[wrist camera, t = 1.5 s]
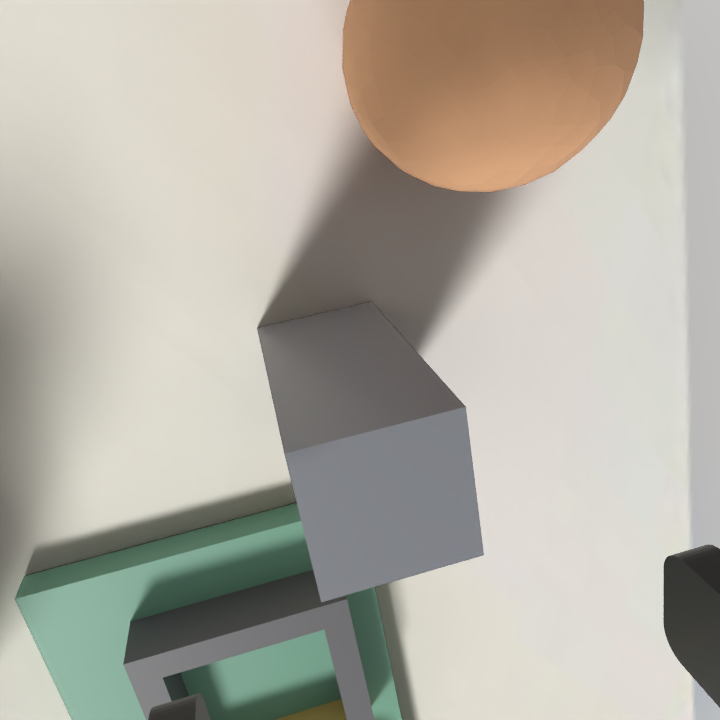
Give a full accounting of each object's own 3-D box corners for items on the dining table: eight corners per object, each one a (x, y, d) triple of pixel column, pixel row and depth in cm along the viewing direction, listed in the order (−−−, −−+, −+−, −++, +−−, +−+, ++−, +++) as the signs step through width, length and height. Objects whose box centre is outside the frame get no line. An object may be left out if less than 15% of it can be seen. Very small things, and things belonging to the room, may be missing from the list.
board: (24, 576, 23) (-4, 642, 20) (351, 488, 25) (369, 537, 22) (140, 830, 28) (132, 912, 25) (404, 744, 30) (425, 811, 27)
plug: (257, 327, 22) (284, 453, 14) (371, 301, 22) (465, 406, 14) (283, 435, 23) (322, 607, 15) (390, 408, 24) (484, 560, 16)
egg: (410, 222, 22) (530, 283, 13) (272, 46, 19) (317, -11, 11) (567, 83, 21) (792, 58, 13) (449, -117, 19) (636, -307, 10)
